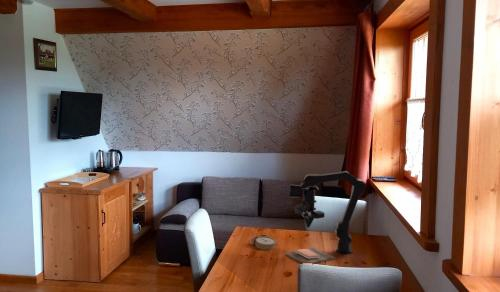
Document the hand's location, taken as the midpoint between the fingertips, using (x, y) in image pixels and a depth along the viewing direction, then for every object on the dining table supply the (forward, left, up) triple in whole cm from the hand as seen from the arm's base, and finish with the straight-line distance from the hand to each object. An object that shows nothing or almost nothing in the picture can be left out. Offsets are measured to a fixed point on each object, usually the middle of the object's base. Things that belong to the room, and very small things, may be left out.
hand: (308, 227), depth 205 cm
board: (+6, +9, -12) cm, 16 cm away
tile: (+8, +9, -9) cm, 15 cm away
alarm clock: (+17, -17, -12) cm, 27 cm away
